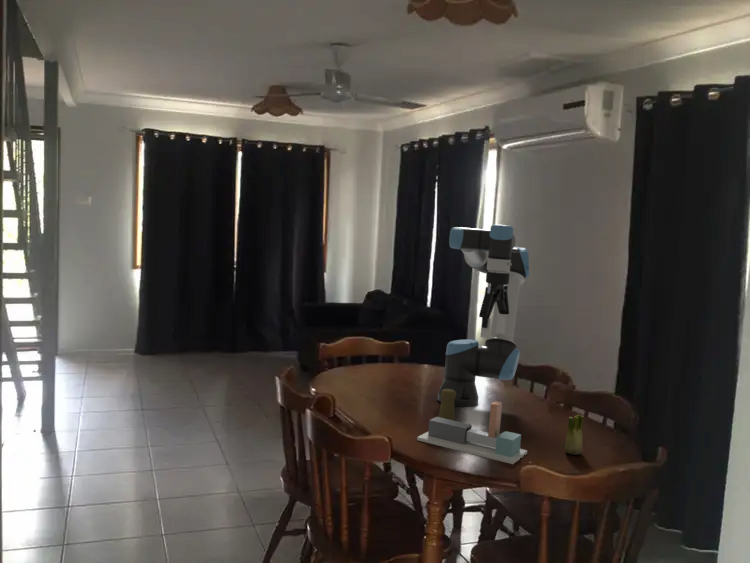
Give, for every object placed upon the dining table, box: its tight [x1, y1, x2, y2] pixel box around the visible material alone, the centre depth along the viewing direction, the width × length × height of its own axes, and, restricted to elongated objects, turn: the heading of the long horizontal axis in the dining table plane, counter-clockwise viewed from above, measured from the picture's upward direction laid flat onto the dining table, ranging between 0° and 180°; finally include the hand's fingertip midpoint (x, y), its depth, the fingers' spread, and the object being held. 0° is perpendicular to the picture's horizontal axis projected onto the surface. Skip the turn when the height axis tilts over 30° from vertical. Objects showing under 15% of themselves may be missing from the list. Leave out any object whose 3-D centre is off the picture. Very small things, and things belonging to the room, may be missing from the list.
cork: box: [437, 389, 456, 421], centre depth 243 cm, size 6×6×11 cm
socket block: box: [495, 430, 522, 457], centre depth 212 cm, size 5×7×5 cm
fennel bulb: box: [564, 414, 585, 456], centre depth 218 cm, size 6×5×12 cm
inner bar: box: [465, 400, 503, 448], centre depth 216 cm, size 16×4×13 cm, turn 59°
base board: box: [416, 430, 528, 465], centre depth 218 cm, size 31×12×1 cm, turn 59°
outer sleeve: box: [427, 416, 473, 444], centre depth 222 cm, size 12×5×5 cm, turn 59°
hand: (492, 335), depth 239 cm, fingers open, 13 cm apart
